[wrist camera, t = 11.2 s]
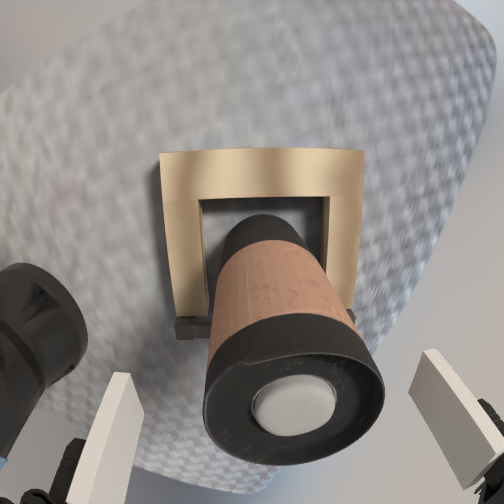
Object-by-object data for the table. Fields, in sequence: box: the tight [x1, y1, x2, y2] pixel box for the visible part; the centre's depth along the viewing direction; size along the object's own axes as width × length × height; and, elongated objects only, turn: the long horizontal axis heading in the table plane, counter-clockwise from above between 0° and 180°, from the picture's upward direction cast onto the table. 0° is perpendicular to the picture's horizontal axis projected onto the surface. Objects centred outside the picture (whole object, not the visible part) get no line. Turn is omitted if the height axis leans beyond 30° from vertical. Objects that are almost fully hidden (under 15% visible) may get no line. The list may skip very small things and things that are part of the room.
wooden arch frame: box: [159, 148, 364, 340], centre depth 28 cm, size 17×17×4 cm
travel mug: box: [203, 214, 385, 466], centre depth 20 cm, size 8×8×20 cm
